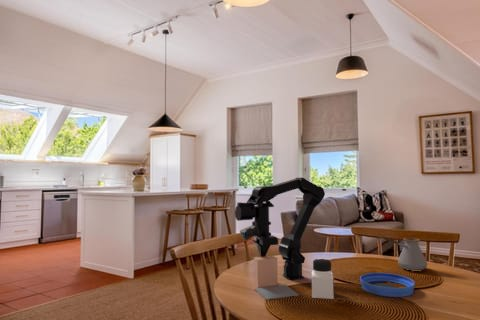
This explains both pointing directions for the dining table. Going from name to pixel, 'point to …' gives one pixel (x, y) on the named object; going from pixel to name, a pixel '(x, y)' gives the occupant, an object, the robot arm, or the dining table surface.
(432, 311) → the dining table surface
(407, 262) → the coffee pot
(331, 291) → the medicine bottle
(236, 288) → the dining table surface
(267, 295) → the mat
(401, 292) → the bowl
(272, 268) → the terracotta block
